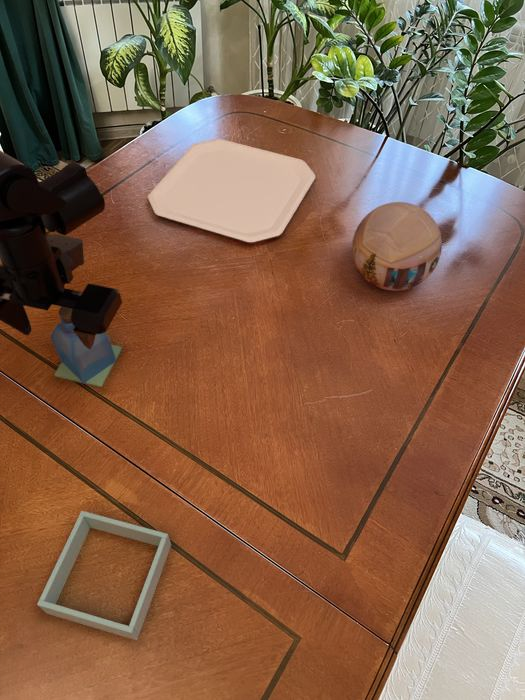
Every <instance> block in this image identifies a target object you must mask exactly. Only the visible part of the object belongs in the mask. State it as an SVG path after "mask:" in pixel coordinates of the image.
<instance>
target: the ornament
mask: <svg viewBox="0 0 525 700" xmlns="http://www.w3.org/2000/svg"><path fill="white" fill-rule="evenodd" d="M351 245H352V246H351V251H352V258H353V262H354V264H355V266H356V268H357V271H358V272H359V274H360V275H361V276H362V277H363V279H365V280H366V281H367V282H368V283H370V284H371V285H373V286H374V287H377V288H379V289H381V290H385V291H391V292H392V291H394V292H396V291H405V290H409V289H412V288H414V287H416V286H418V285H420V284H421V283H423V282H425V280H427V279H428V278H429V277H430V276H431V275H432V273H433V272H434V271H435V269H436V267H437V266H438V264H439V261H440V258H441V255H442V249H443V248H442V246H443V241H442V234H441V231H440V228H439V226H438V224H437V222H436V221H435V219H434V218H433V216H432V215H431V214H429V212H427V211H426V210H425V209H423V208H422V207H420V206H418V205H416V204H413V203H411V202H405V201H394V202H388V203H383V204H382V205H379V206H377V207H375V208H374V209H372V210H371V211H369V212H368V213H367V214H366V215H365V216H364V217H363V218H362V219H361V221H360V223H359V224H358V225H357V227H356V230H355V231H354V235H353V239H352V244H351Z"/></svg>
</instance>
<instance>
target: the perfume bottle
mask: <svg viewBox="0 0 525 700" xmlns="http://www.w3.org/2000/svg"><path fill="white" fill-rule="evenodd" d="M58 315H59V321H60V323H58V324H56V325H55V327H54V329H53V330H52V333H51V334H50V335H49V337H50V339H51V342H52V344H53V347H54V349H55V351H56V353H57V355H58V358H59V360H60V363H61V362H62V363H63V364H64V365H65V366H66V367H67V368H68V369H69V370H70V371H71V372H72V373H73V374H74V375H75V376H76V377H77V378H78V379H80V380H81V381H82V382H83V383H82V384H84V383H85V382H87V381H88V380H90V379H91V378H93V377H94V376H95V375H97V374H98V373H100V372H101V371H103V370H104V369H105V368H107V367H108V366H110V365H111V364H113V363H114V362H115V361H116V362H117V360H116V358H115V355H114V352H113V349H112V345H113V344H112V342H111V339H110V336H109V335H108V334H107V333H106V332H104V333H102V334H97V335H95V340H94V344H93V346H92V348H91V349H88V348H87V347H86V346H85V345H84V344H83V343H82V342H81V340H80V339H79V337H78V336H77V335H76V333H75V332H74V330H73V329H74V328H75V326H74V325H73V323H72V321H71V315H72V309H71V308H66V307H61V306H59V309H58ZM116 362H115V363H116Z"/></svg>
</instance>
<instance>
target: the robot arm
mask: <svg viewBox="0 0 525 700" xmlns="http://www.w3.org/2000/svg"><path fill="white" fill-rule="evenodd" d="M105 208H106V202H105V197H104V195H103V194H102V193H101V191H100V190H99V188H98V186H97V185H96V184H95V182H94V181H93V180H92V179H91V177H89V175H88V172H87V169H86V167H84V166H83V165H81V164H79V163H77V162H75V161H71V162H70V163H67V164H66V165H65V166H63V168H61V169H60V170H57V172H55V173H53V174H51V175H49V176H47V177H46V178H44V179H42V180H41V181H39V180H38V177H37V174H36V173H35V171H34V170H33V169H32V168H31V167H29V166H28V165H26V164H25V163H23V162H21V161H19V160H18V159H16V158H14V157H12V156H10V155H9V154H7V153H6V152H4V151H2V150H0V262H1V264H0V322H2V323H4V324H5V325H7V326H10V327H11V328H13V329H15V331H18V332H19V333H21V334H23V335H24V336H29V335H30V334H31V332H32V326H31V321H30V319H29V317H28V314H27V311H26V308H25V307H28V308H34V309H38V310H44V311H49V310H50V308H51V306H52V305H53V306H57V307H66V308H71V309H72V315H71V321H72V323H73V325H74V326H75V328H74V329H73V330H74V332H75V333H76V335H77V336H78V337H79V339H80V340H81V342H82V343H83V344H84V345H85V346H86V347H87V348H88V349H91V348H92V346H93V344H94V340H95V335H97V334H102V333H104V332H105V333H106V332H107V331H108V329H109V328H110V325H111V324H112V322H113V320H114V319H115V317H116V315H117V313H118V311H119V309H120V308H121V306H122V304H123V301H122V296H121V293H120V292H119V289H118V288H116V287H115V288H114V287H110V286H106V285H100V284H95V283H87V284H86V286H85V287H84V290H83V291H79V290H75V289H70V288H66V287H65V285H66V284H68V285H70V284H71V283H72V281H73V279H74V274H73V271H75V270H76V269H77V268H79V267H81V266H83V265H84V264H85V257H84V241H83V239H81V238H77V237H74V236H73V237H72V236H67V235H68V234H70V233H72V232H74V231H76V229H78V228H79V227H81V226H83V225H84V224H86V223H87V222H89V221H90V220H92V219H93V218H95V217H96V216H98V215H100V214H102V213H103V212H104V211H105ZM46 230H47V231H48V232H50V233H51V234H50V233H47V231H46ZM55 232H56V233H58V234H54V233H55ZM52 233H53V234H52Z"/></svg>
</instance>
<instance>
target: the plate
mask: <svg viewBox="0 0 525 700" xmlns="http://www.w3.org/2000/svg"><path fill="white" fill-rule="evenodd" d="M315 180H316V174H315V173H314V171H313V170H312V169H311V167H310V166H309V165H308V164H307V163H306V161H305V160H303V159H300V158H296V157H293V156H289V155H285V154H281V153H277V152H274V151H269V150H265V149H262V148H258V147H253V146H250V145H245V144H241V143H238V142H234V141H230V140H226V139H222V138H215V139H210V140H205V141H200V142H195V143H193V144H191V146H190V147H188V149H187V150H186V151H185V153H184V154H183V155H182V156H181V157H180V158H179V159H178V160H177V162H176V163H175V164H174V165H173V166H172V167H171V169H170V170H168V172H167V173H166V174H165V176H163V177H162V178H161V180H160V181H159V182H158V184H156V185H155V186H154V188H153V189H152V190H151V191H150V192H149V193H148V194H147V200H148V202H149V204H150V206H151V209H152V211H153V213H154V215H156V216H157V217H159V218H160V219H161V218H162V219H165V220H167V221H168V220H169V221H172V222H175V223H178V224H182V225H184V226H188V227H191V228H195V229H199V230H201V231H206V232H208V233H211V234H215V235H219V236H222V237H226V238H228V239H232V240H236V241H239V242H243V243H246V244H257V243H260V242H264V241H268V240H272V239H275V238H279V237H280V236H282V235H283V233H284V231H285V230H286V228H287V226H288V225H289V224H290V221H291V220H292V218H293V216H294V215H295V213H296V212H297V210H298V208H299V207H300V206H301V203H302V202H303V200H304V198H305V196H306V195H307V193H308V192H309V190H310V188H311V187H312V185H313V183H314V182H315Z"/></svg>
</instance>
